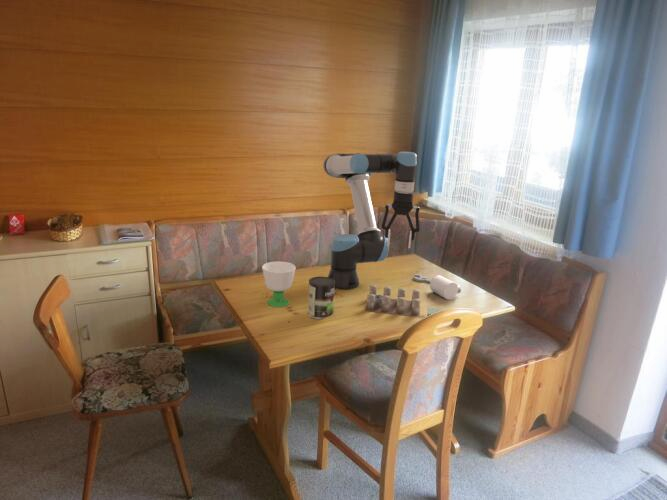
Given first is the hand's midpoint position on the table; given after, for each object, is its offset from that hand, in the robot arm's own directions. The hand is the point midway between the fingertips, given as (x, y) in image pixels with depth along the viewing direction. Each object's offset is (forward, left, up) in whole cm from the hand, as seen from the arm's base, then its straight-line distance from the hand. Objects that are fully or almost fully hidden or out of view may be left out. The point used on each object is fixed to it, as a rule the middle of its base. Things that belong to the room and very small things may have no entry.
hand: (398, 246), depth 199 cm
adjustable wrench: (+18, +27, -26) cm, 42 cm away
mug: (+23, +16, -26) cm, 38 cm away
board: (0, -6, -25) cm, 26 cm away
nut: (-6, -6, -24) cm, 26 cm away
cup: (-47, -13, -25) cm, 55 cm away
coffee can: (-28, -19, -25) cm, 42 cm away
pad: (+16, -6, -25) cm, 30 cm away
